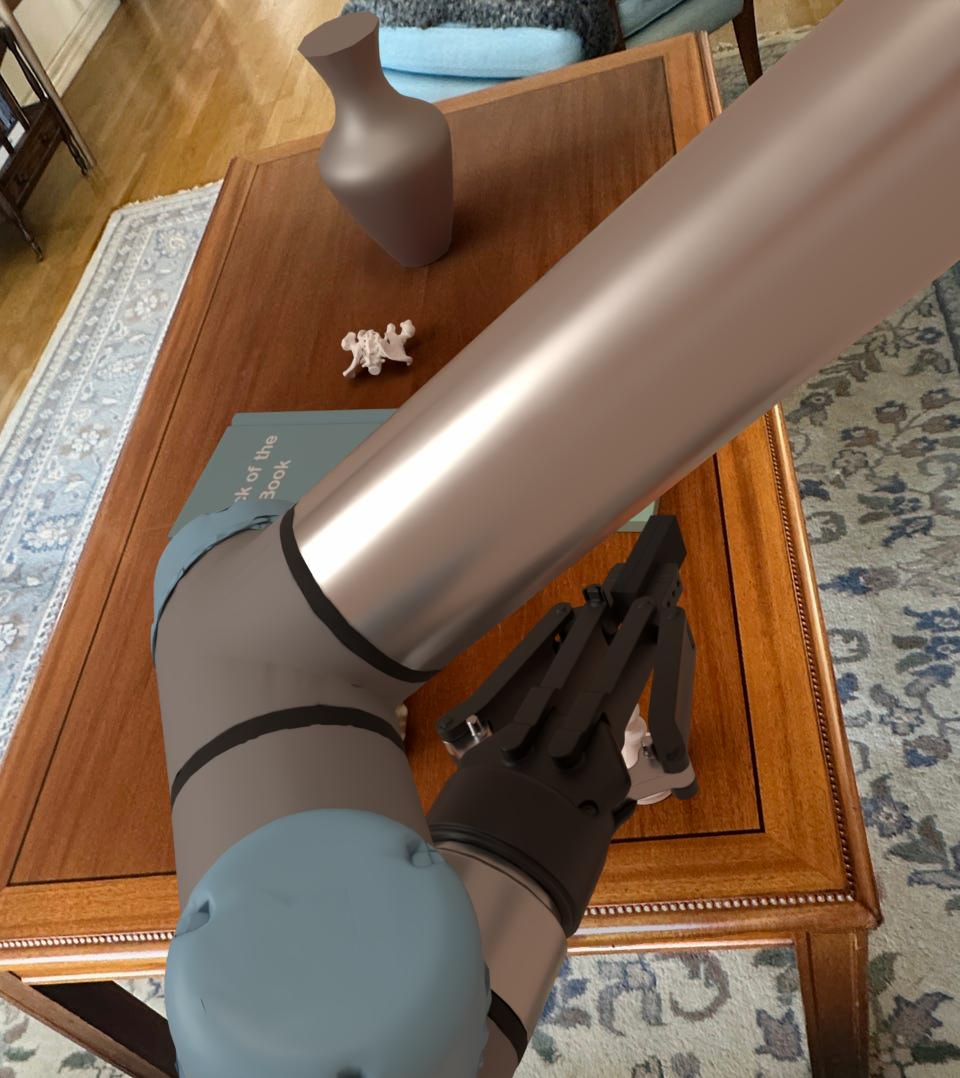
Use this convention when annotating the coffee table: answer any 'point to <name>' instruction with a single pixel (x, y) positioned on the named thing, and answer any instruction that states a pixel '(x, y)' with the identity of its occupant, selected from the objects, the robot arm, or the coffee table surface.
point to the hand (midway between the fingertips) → (668, 534)
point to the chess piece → (631, 747)
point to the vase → (382, 145)
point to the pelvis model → (377, 348)
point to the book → (276, 456)
